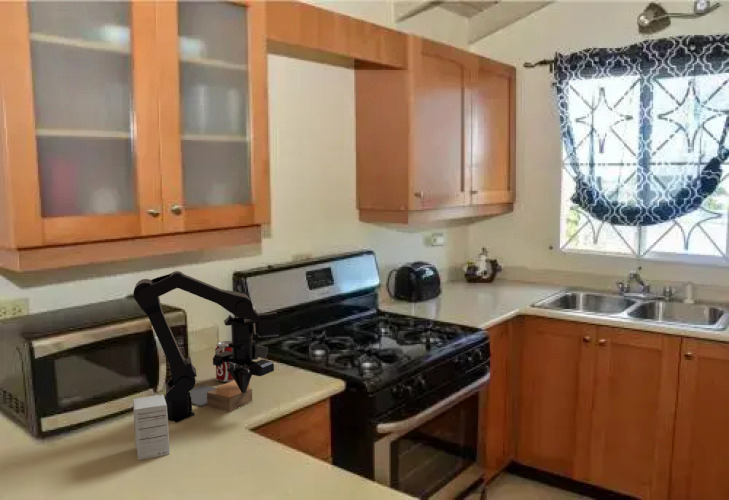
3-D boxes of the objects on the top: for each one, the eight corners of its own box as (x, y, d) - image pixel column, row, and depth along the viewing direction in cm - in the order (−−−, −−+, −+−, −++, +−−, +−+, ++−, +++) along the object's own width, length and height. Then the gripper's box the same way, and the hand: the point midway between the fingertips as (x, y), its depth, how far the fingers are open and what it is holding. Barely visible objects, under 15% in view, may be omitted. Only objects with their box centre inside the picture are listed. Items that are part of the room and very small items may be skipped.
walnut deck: (229, 412, 166) (229, 398, 166) (207, 405, 171) (206, 392, 170) (252, 401, 174) (251, 388, 173) (230, 395, 178) (229, 382, 178)
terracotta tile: (229, 397, 166) (229, 390, 166) (216, 394, 169) (216, 387, 169) (249, 388, 173) (249, 382, 173) (237, 385, 176) (236, 379, 175)
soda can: (240, 376, 195) (239, 340, 194) (234, 383, 189) (232, 346, 187) (220, 375, 196) (219, 340, 194) (213, 383, 189) (211, 346, 188)
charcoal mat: (202, 407, 170) (202, 405, 170) (171, 398, 177) (171, 396, 177) (232, 393, 180) (232, 392, 180) (202, 385, 187) (202, 384, 187)
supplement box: (135, 447, 145) (132, 398, 144) (167, 442, 148) (164, 393, 147) (136, 461, 139) (133, 409, 137) (170, 454, 142) (167, 404, 140)
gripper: (286, 337, 168) (287, 390, 170) (238, 327, 178) (240, 378, 180) (259, 346, 159) (260, 402, 161) (210, 336, 169) (212, 389, 171)
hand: (243, 392), depth 169 cm, fingers closed
